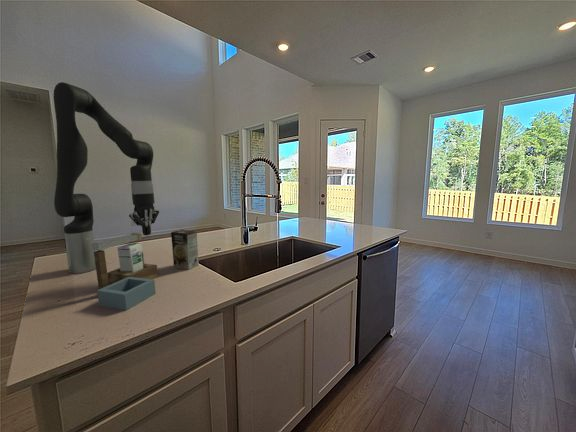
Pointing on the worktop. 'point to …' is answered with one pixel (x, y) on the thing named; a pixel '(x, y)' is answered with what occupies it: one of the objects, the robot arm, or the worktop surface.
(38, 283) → the worktop surface
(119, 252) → the syrup box
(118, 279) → the socket block
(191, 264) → the coffee box
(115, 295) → the blue-grey hollow box
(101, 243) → the bar
